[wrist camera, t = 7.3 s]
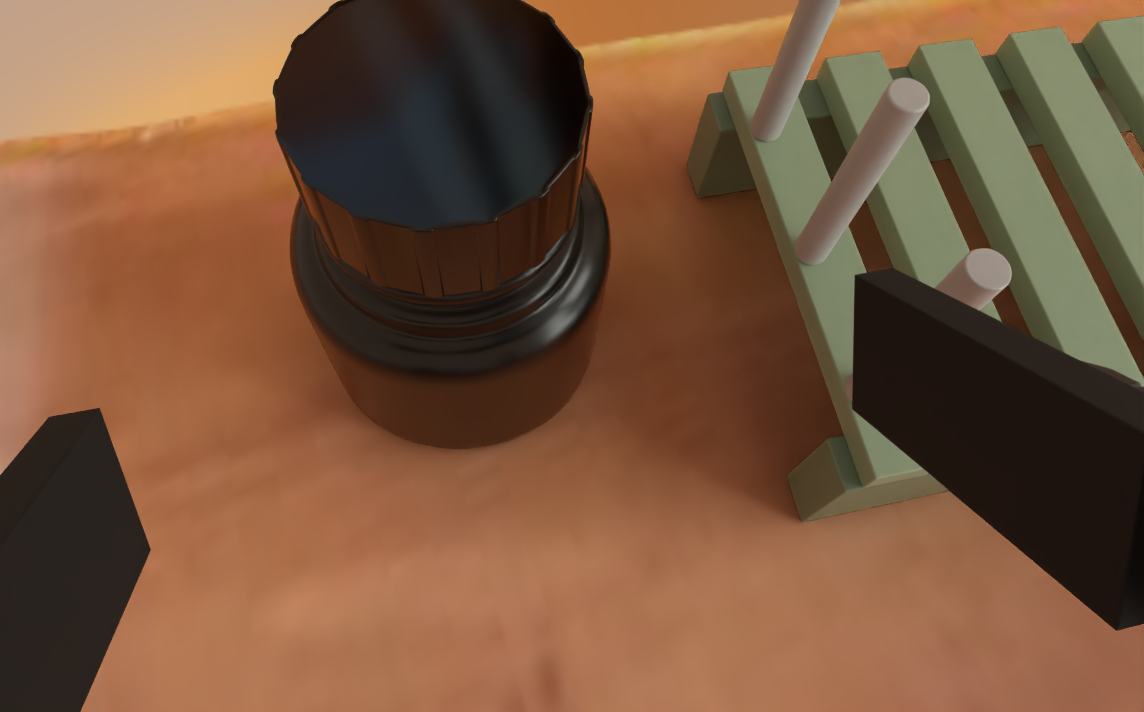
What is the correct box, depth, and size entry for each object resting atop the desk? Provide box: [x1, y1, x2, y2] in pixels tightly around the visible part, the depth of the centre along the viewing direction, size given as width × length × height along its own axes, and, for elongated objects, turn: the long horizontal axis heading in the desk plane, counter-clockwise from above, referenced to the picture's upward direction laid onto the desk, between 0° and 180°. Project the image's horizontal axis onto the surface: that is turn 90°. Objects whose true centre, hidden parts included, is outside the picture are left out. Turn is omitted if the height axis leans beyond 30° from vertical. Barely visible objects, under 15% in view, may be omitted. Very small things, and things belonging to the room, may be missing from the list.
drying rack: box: [687, 0, 1144, 522], centre depth 26 cm, size 20×14×12 cm
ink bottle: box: [273, 0, 611, 449], centre depth 24 cm, size 10×9×12 cm
